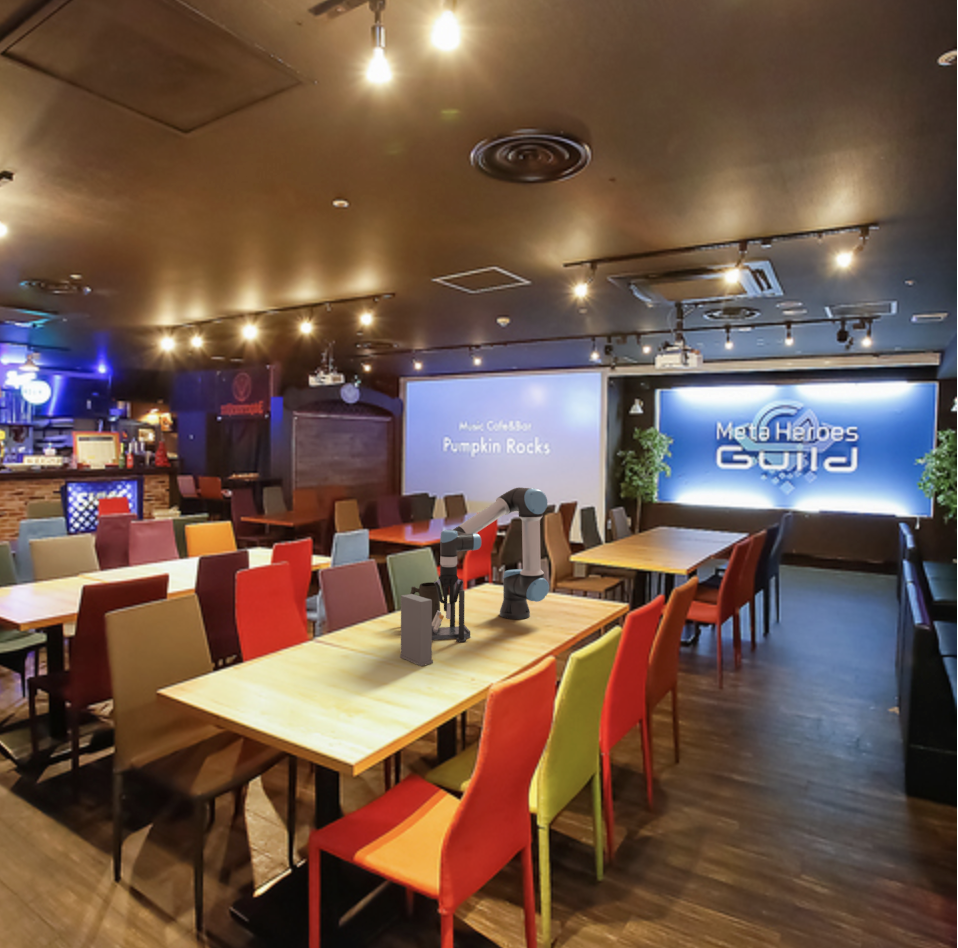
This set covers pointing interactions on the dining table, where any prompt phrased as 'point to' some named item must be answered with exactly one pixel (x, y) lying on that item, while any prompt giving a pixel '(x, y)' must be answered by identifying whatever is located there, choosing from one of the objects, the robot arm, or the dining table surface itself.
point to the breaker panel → (449, 633)
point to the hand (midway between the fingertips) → (448, 618)
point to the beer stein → (429, 595)
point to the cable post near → (461, 617)
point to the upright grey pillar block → (416, 629)
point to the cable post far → (452, 612)
